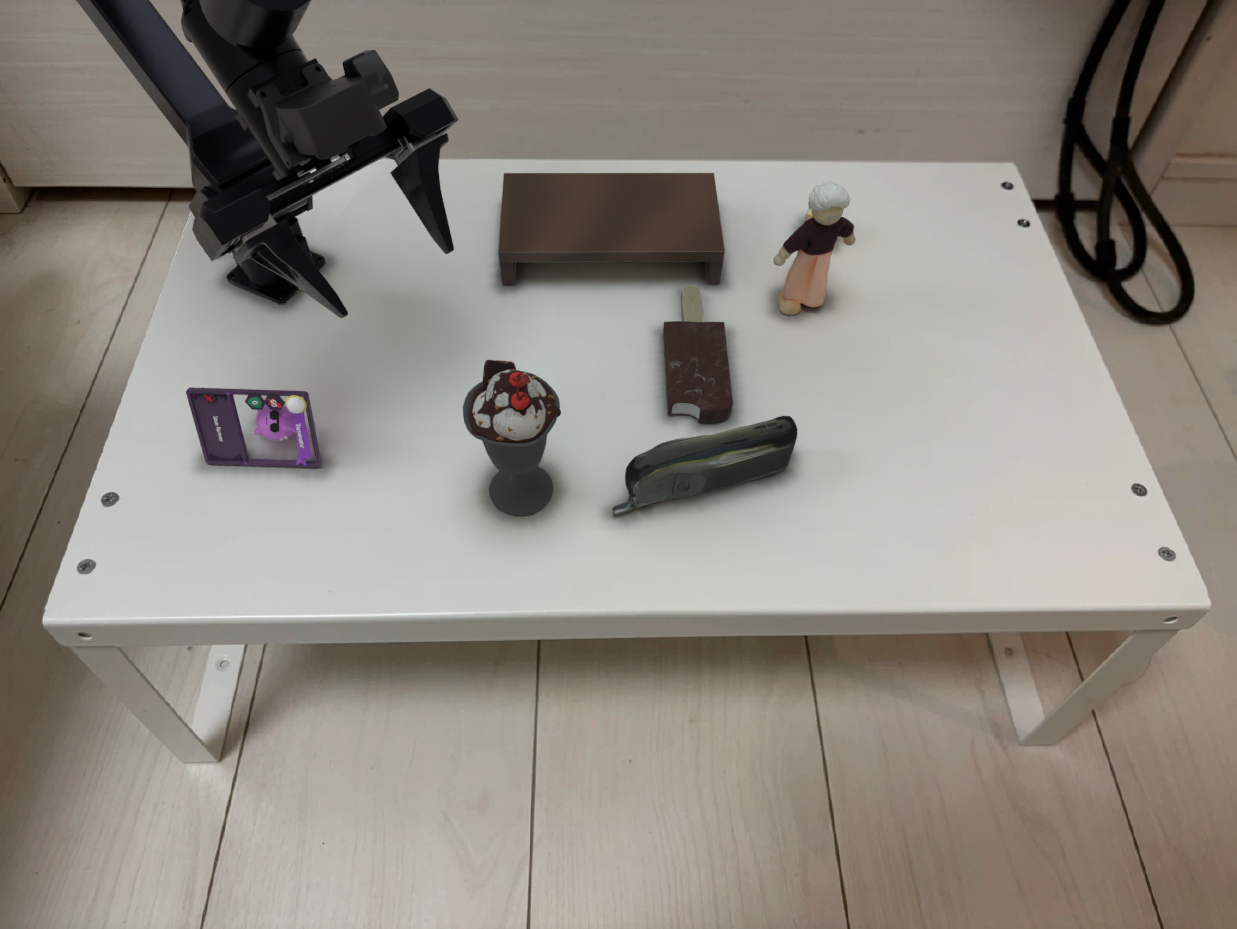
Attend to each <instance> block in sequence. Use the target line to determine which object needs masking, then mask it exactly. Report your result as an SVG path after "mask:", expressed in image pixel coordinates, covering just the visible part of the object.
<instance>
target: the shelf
mask: <svg viewBox="0 0 1237 929" xmlns="http://www.w3.org/2000/svg"><path fill="white" fill-rule="evenodd" d="M502 177H503V179H502V193H501V207H500V222H499V235H498V252H497V253H498V263H499V271H500V280H501V281H500V282H501V286H502V287H503V286H505V287H506V286H512V287H513V286H514V287H515V286H516V274H517V263H692V262H693V263H699V262H701V263H702V262H703V263H704V270H705V278H706V284H707V286H708V285H720V284H721V279H722V273H723V266H724V259H725V253H726V250H725V243H724V242H725V241H724V236H723V229H722V221H721V214H720V208H719V207H720V206H719V198H718V191H717V185H716V177H715V173H714V172H503V176H502Z"/></svg>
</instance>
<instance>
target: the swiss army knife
mask: <svg viewBox="0 0 1237 929" xmlns="http://www.w3.org/2000/svg"><path fill="white" fill-rule="evenodd" d="M797 439H798V427H797V424H796V421H795V420H794V419H793V417H791V415H780V416H776V417H774V418H772V419H768V420H765V421H761V422H757V423H754V424H753V423H752V424H749V425H743V426H738V427H735V428H732V429H728V430H724V431H721V432H717V433H712V434H703V435H697V436H691V437H681V438H675V439H672V440H667V441H664V442H661V443H659V444H656V445H655V446H654V447H652V448H650V449H649V450H646V451H644V452H641V453H639V454H637V455H636V456H634V457H633V458H632V459H631V460H630V461H629V463H628V464H627V466H626V467H625V471H624V472H625V474H624V483H625V484H624V485H625V487H626V489H627V492H628V499H627V500H626V501H625V502H623V503H620V504H617V505H614V506H613V507H612V508H611V509H612V510H611V511H612V514H613V515H616V516H617V515H620V514H624V513H627V512H630V511H632V510H634V509H639V508H641V507H644V506H645V507H646V506H648V505H651V504H654V503H660V502H665V501H668V500H672V499H679V498H680V499H681V498H688V497H689V498H690V497H694V496H697V495H700V494H704V493H707V492H710V491H715V490H718V489H719V490H720V489H724V488H729V487H733V486H736V485H740V484H744V483H747V482H751V481H754V480H755V481H756V480H759V479H762V478H766V477H769V476H770V477H771V476H773V475H776V474H778V473H780V472H782V471H784V470H786V468H787V467H788V466H789V464H790V461H791V458H792V455H793V452H794V448H795V446H796V442H797Z"/></svg>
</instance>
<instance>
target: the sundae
mask: <svg viewBox="0 0 1237 929" xmlns="http://www.w3.org/2000/svg"><path fill="white" fill-rule="evenodd" d="M516 367H517V366H516V364H515V362H514V361H511V360H510V361H509V360H502V359H501V360H500V359H499V360H498V359H497V360H496V359H486V360H485V361H484V365H483V372H482V381H481V382H479V383H477V384H476V385H474V386H473V387H472V388H471V389H470V390H469V391H468V392H467V394H466V396H465V398H464V401H463V405H462V417H463V423H464V425H465V428H466V430H467V431H468V432H469V434H470V435H471V436H472V437H474V439H477V440H479V441H482V444H483V446H484V449H485V451H486V455H487V456H488V457H489V460H490V461H491V463H492V465H493V466H494V467H495V468H496V469H497V470H498V471H497V472H496V473H495V475H493V476H492V478H491V480H490V483H489V487H488V494H489V498H490V501H491V502H492V504H493V505H494V507H496V509H498V510H500V511H501V512H503V513H504V514H506V515H511V516H518V517H522V516H528V515H533V514H535V513H537V512H539V511H541V510H542V509H544V507H546V506H547V504H548V503H549V502H550V500H551V498H552V496H553V491H554V485H553V484H554V483H553V480H552V478H551V476H550V475H549V473H548V472H547V471H546V470H545V469H544V468H542V467H540V466H539V465H540V463H541V462H542V459H543V457H544V453H545V450H546V447H547V439H548V435H549V433H550V432H551V431H552V429H553V427H554V426H555V424H556V422H557V420H558V418H559V417H560V416H561V414H562V411H561V404H560V398H559V396H558V394H557V393H556V391H555V389H554V388H553V387H552V386H551V385H550V384H549V383H548V382H547V381H546V380H544V379H543V378H542V377H539V376H538V375H536V374H535V373H532V372H528V371H522V370H518V369H517V368H516Z"/></svg>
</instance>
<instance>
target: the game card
mask: <svg viewBox="0 0 1237 929" xmlns="http://www.w3.org/2000/svg"><path fill="white" fill-rule="evenodd" d="M185 394H186V398H187V401H188V405H189V408H190V412H191V416H192V419H193V424H194V426H195V431H196V434H197V437H198V441H199V444H200V448H201V452H202V456H203V459H204V462H205V463H206V464H207V465H222V466H223V465H225V466H227V465H228V466H255V467H284V468H285V467H287V468H320V467H321V466H322V463H323V461H322V455H321V450H320V446H319V440H318V435H317V430H316V425H315V420H314V415H313V409H312V404H311V399H310V398H311V397H310V394H309V392H308V391H305V390H287V389H286V390H285V389H284V390H283V389H282V390H281V389H255V388H254V389H252V388H251V389H250V388H246V389H245V388H225V387H224V388H220V387H188V388H187V389H186V391H185ZM235 395H236V396H246V398H245V400H244V403H245V404H246V405H247V406H248V407H249V408H250V409H251V410H252V411H253V410H255V411H257V413H256V416H255V423H256V429H254V431H253V435H256V436H257V435H258V436H263V437H264V438H266V439H267V440H271V441H283V440H289V437H291V436H293V434H294V433H295V437H296V438H295V439H296V445H297V451H298V454H297V456H296V459H277V458H275V459H274V458H273V459H272V458H250V457H249V452H248V448H247V444H246V441H245V436H244V434H243V433H244V432H243V429H242V425H241V421H240V417H239V413H238V409H237V405H236V401H235ZM263 396H266V397H265V399H264V398H263ZM282 397H286V398H285V400H284V399H283V398H282ZM305 414H306V416H305ZM306 419H307V420H306ZM306 421H307V423H308V424H307V423H306ZM307 425H308V427H307ZM308 429H309V432H308ZM309 434H310V438H309ZM310 439H311V445H312V449H313V456H314V460H307V459H312V451H311V445H310Z"/></svg>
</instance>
